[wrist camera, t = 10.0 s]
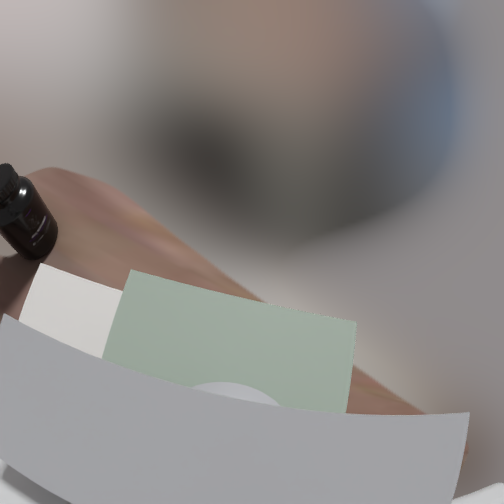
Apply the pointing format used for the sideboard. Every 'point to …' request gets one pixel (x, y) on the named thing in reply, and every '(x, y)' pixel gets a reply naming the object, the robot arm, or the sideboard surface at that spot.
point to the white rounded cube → (71, 309)
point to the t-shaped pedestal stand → (212, 410)
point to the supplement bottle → (24, 216)
